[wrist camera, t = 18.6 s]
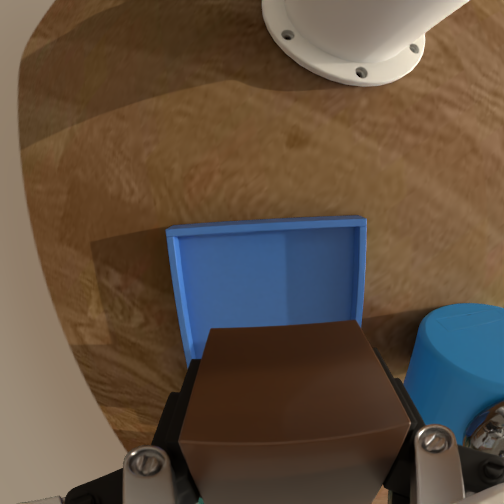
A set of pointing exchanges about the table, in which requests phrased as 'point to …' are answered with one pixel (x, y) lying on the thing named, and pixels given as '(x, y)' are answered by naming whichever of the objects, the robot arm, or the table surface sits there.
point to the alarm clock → (461, 373)
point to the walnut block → (291, 416)
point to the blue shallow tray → (266, 274)
